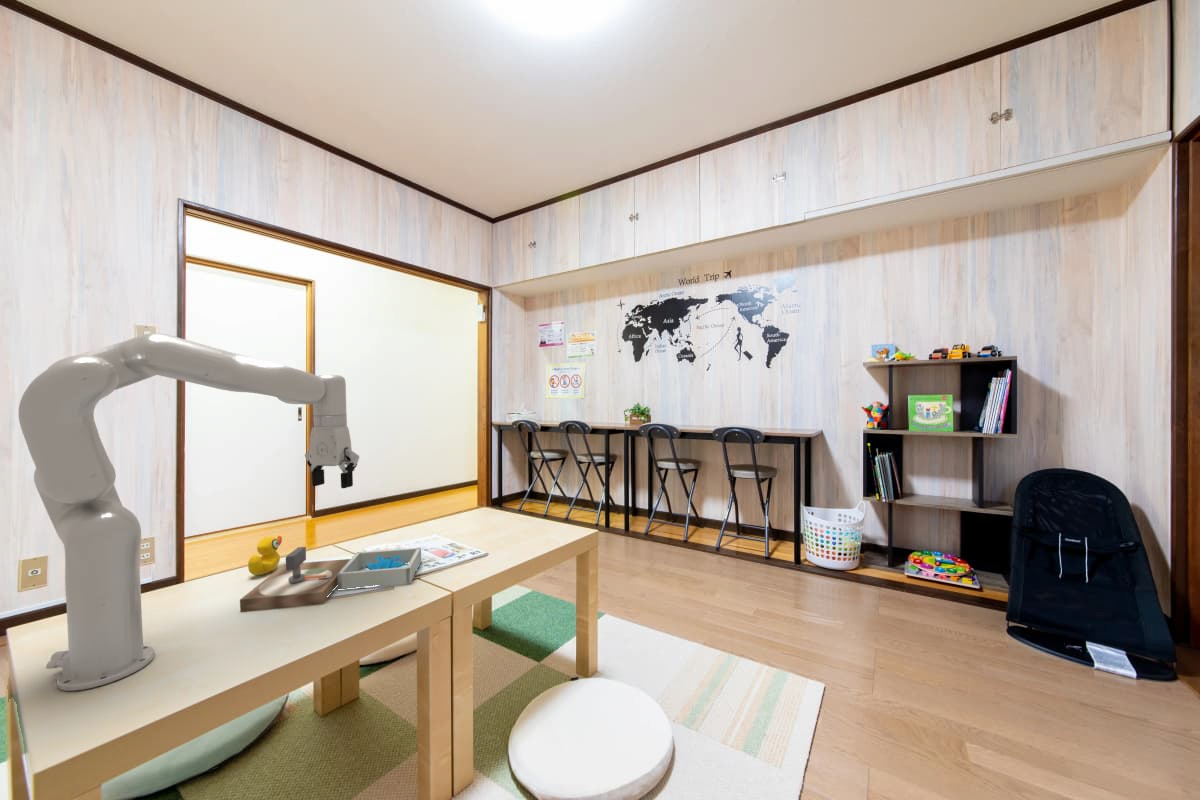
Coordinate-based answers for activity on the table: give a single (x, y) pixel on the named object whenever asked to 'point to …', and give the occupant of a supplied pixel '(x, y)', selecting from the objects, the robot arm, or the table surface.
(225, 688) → the table surface
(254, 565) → the duckling
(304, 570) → the board
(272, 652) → the table surface
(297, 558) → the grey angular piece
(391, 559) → the toy airplane
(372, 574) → the toy tray
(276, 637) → the table surface
